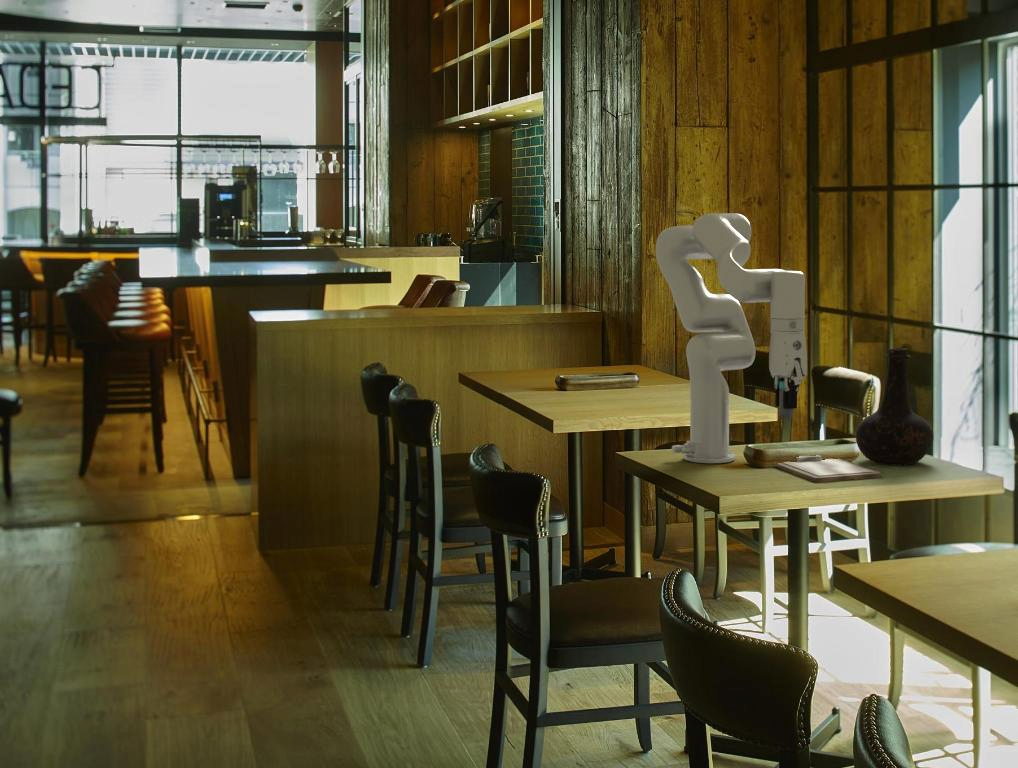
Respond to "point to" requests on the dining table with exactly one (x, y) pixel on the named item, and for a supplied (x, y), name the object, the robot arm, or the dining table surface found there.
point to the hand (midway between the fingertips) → (786, 406)
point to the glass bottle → (895, 421)
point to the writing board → (827, 469)
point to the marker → (782, 412)
